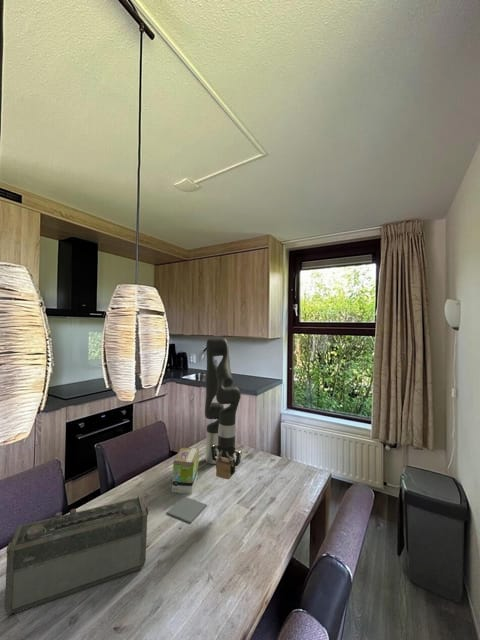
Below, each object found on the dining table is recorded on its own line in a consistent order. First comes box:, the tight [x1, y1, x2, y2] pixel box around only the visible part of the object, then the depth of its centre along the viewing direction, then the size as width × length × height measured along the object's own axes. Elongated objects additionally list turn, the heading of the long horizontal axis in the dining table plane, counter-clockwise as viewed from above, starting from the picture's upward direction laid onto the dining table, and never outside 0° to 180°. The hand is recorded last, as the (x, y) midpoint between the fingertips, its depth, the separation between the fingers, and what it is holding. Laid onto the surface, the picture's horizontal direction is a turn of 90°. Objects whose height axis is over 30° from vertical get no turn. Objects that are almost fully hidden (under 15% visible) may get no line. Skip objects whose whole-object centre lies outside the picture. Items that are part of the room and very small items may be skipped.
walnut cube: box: [215, 457, 233, 481], centre depth 121 cm, size 6×6×6 cm
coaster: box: [166, 496, 208, 524], centre depth 119 cm, size 12×12×1 cm
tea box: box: [171, 447, 200, 494], centre depth 137 cm, size 15×10×15 cm, turn 179°
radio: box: [4, 496, 149, 615], centre depth 88 cm, size 38×14×20 cm, turn 117°
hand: (225, 472), depth 121 cm, fingers closed on walnut cube, 6 cm apart
